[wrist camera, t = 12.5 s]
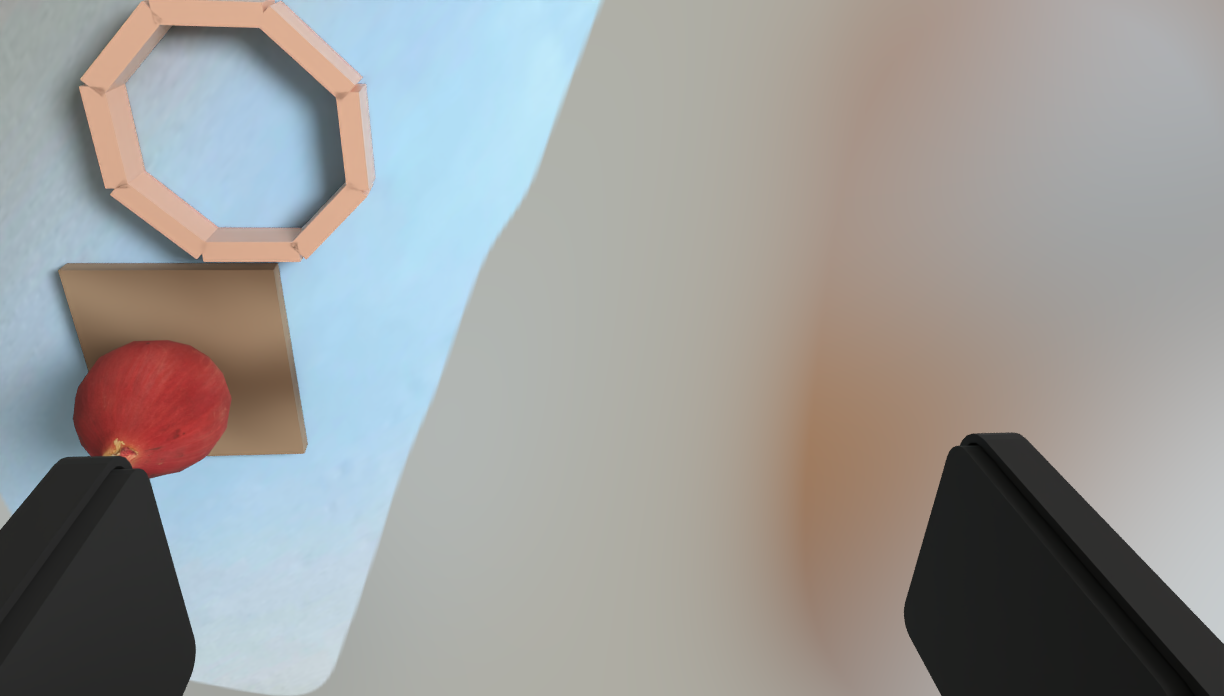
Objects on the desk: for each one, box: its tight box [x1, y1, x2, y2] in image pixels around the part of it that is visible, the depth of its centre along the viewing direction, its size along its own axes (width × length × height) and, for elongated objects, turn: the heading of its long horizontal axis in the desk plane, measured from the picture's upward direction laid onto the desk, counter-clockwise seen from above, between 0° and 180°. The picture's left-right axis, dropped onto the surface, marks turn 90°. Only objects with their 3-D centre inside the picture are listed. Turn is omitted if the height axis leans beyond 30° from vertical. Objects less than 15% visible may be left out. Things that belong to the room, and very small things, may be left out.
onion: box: [73, 340, 232, 479], centre depth 35 cm, size 6×6×8 cm
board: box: [58, 263, 308, 456], centre depth 39 cm, size 10×9×1 cm
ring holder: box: [79, 0, 375, 262], centre depth 33 cm, size 10×10×2 cm
